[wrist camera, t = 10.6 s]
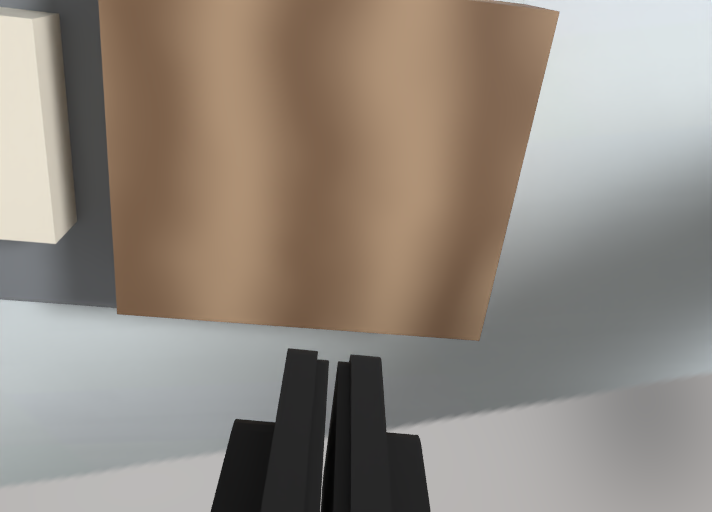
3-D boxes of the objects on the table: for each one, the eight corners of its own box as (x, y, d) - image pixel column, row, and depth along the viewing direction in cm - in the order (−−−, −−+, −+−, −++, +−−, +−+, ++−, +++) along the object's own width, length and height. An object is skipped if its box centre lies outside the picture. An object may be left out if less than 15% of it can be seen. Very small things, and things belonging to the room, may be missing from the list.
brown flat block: (525, 4, 25) (559, 11, 22) (461, 297, 31) (479, 340, 28) (130, -46, 24) (95, -48, 20) (142, 271, 30) (117, 314, 26)
